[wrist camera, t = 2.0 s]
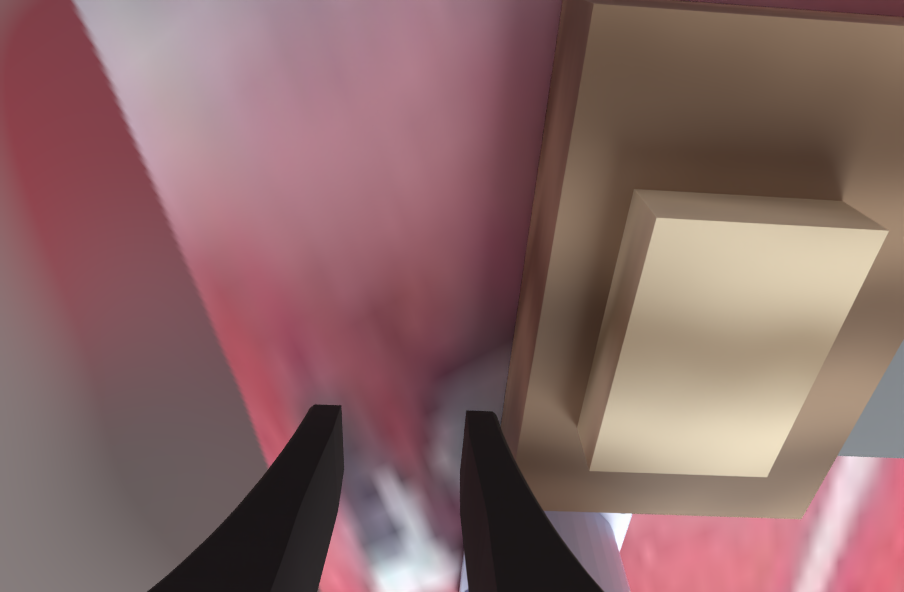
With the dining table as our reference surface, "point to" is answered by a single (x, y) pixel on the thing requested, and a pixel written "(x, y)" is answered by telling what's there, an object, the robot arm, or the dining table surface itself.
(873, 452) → the mat
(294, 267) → the dining table surface
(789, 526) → the dining table surface
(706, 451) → the tile
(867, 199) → the brown shallow box
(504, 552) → the robot arm
